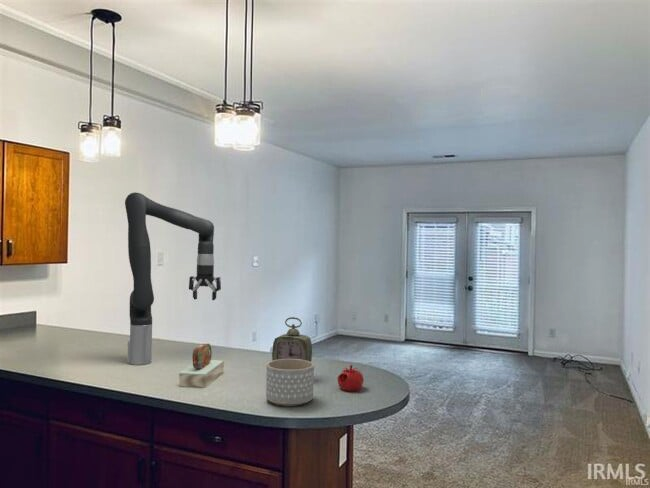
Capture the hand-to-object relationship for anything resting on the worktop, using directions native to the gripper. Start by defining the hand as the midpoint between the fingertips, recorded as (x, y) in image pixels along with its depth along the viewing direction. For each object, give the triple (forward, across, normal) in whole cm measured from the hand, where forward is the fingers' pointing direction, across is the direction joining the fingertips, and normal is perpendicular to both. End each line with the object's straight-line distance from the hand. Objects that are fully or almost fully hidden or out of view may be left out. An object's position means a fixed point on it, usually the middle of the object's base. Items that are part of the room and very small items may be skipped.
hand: (204, 299), depth 230 cm
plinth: (+28, +10, -28) cm, 41 cm away
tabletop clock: (+28, +45, -21) cm, 57 cm away
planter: (+28, +49, -48) cm, 74 cm away
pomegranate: (+28, +69, -30) cm, 80 cm away
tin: (+23, +10, -28) cm, 38 cm away
